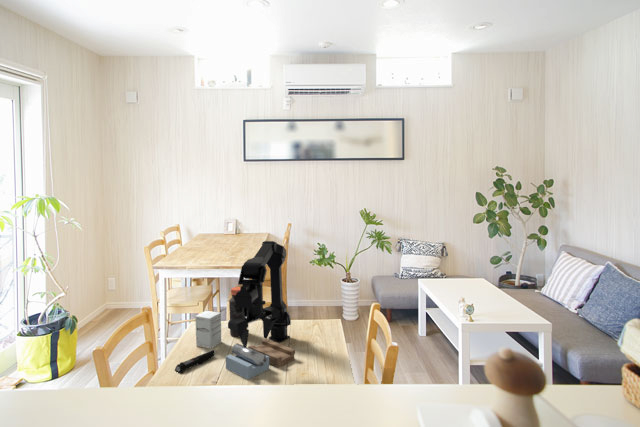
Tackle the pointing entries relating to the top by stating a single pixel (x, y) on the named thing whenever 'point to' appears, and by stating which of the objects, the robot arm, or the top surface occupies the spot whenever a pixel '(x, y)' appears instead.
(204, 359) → the electric trimmer
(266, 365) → the cradle
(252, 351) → the axle
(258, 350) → the beam
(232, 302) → the bottle
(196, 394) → the top surface
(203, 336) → the supplement box
